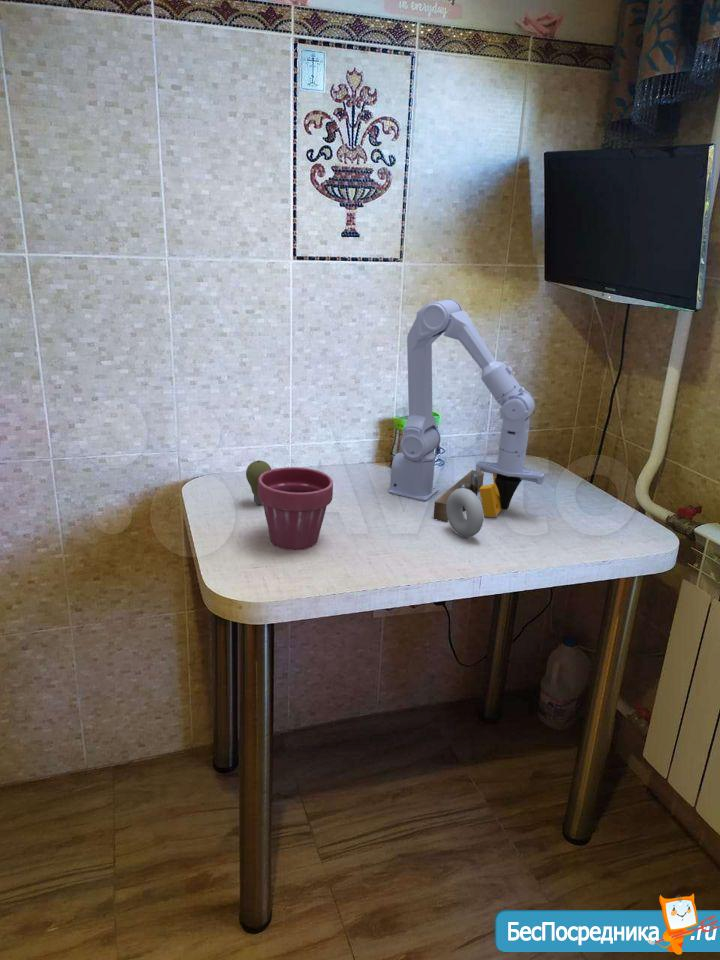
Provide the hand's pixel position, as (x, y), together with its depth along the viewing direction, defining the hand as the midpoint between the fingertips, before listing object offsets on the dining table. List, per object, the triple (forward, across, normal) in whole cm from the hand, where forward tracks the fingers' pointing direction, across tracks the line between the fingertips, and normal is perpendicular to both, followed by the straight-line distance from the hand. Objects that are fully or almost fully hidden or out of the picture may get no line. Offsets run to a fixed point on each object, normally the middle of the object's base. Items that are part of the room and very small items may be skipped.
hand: (505, 507), depth 156 cm
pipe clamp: (+1, +3, -1) cm, 3 cm away
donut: (+1, +4, +16) cm, 17 cm away
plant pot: (+1, +31, +37) cm, 48 cm away
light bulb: (+1, +47, +26) cm, 54 cm away
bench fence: (+1, +11, 0) cm, 11 cm away
